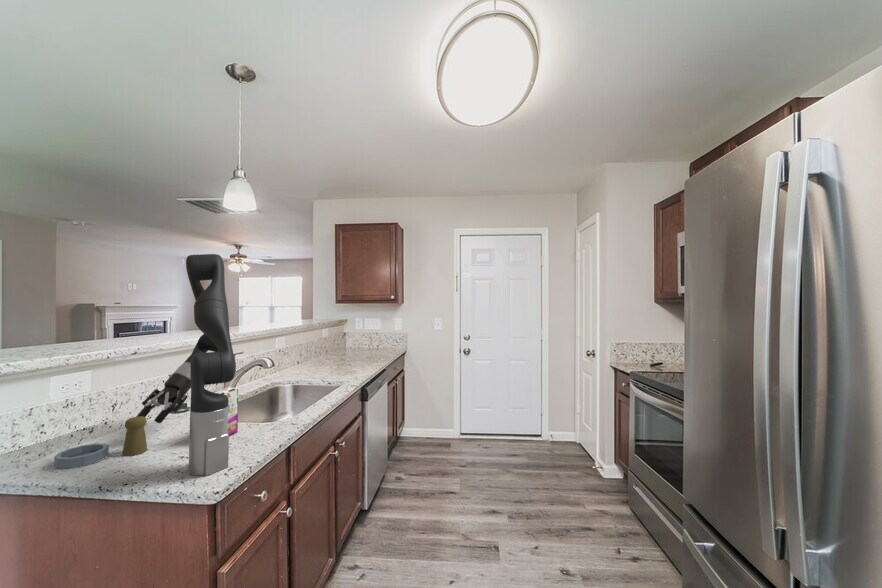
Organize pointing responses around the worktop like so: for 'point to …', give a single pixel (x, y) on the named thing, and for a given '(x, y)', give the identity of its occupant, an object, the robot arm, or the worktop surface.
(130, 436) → the cork
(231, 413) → the candy bar box
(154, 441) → the worktop surface
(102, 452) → the dish
